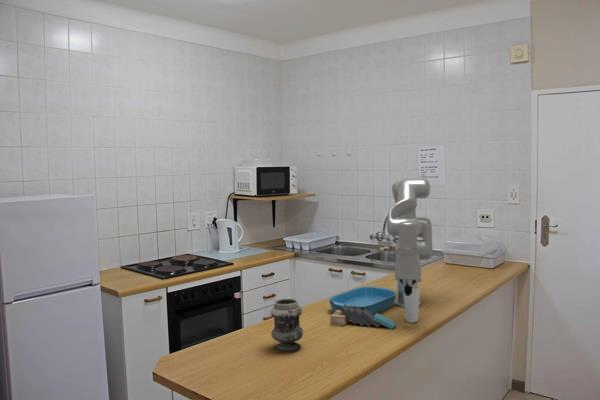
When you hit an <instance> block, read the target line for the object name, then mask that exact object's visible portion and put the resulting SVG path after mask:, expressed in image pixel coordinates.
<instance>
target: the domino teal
mask: <svg viewBox="0 0 600 400" xmlns="http://www.w3.org/2000/svg"><path fill="white" fill-rule="evenodd" d="M373 320H374V321H376V322H378V323H380V324H381V325H382V326H384V327H387V328H388V329H391V330H393V329H394V328H395V326H396V324H397V322H396V321H394V320H392V319H390V318H388V317H386V316H384V315H382V314H380V313H379V312H378V313H376V314H374V318H373Z"/></svg>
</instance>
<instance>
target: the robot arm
mask: <svg viewBox="0 0 600 400" xmlns="http://www.w3.org/2000/svg"><path fill="white" fill-rule="evenodd" d="M391 192H392V197H393V199H394V202H395V204H393V205H392V206H391V208H390V209H389V210H388V212H387V216H386V230H387V231H386V232H387V233H388V235H390V236H391V237H398V240H397V242H395V244H394V245H395V246H394V251H395V262H394V263H395V264H394V280H395V281H396V282H397V283H396V285H397V287H396V288H397V289H396V290H397V291H396V293H397V294H396V296H397V299H395V300H394V303H393V304H394V305H395V306H398V307H401V308H405V305H404V293H406V296H410V295H411V294H412V285H414V286H418V283H421V282H422V277H421V275H422V270H421V269H422V268H421V260H422V261H423V260H426V261H427V260H431V258H432V257H433V249H434V248H433V247H434V246H433V227H432V221H431V220H430V219H429V218H427V217H417V216H416V208H417V206H418V203H417V202H418V201H417V200H418V199H427V198H429V196H430V195H431V185H430V182H429V180H428V179H427V178H426V179H425V178H405V179H401V180H400V181H396V182H394V183H392V185H391ZM418 238H421V239H418ZM421 305H422V302H421V300H419V307H420V306H421Z"/></svg>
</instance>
